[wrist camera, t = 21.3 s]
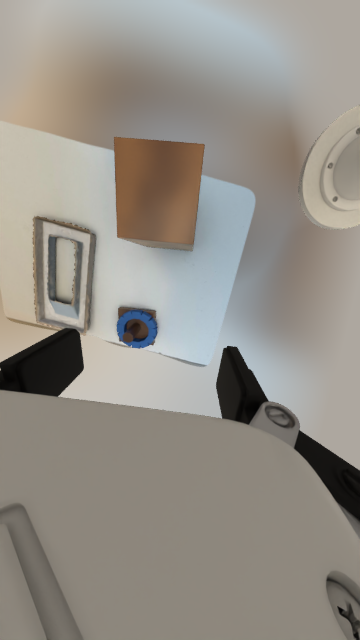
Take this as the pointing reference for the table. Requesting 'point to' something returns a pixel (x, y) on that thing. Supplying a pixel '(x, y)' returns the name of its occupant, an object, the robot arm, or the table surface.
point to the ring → (143, 317)
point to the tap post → (135, 326)
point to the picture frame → (44, 274)
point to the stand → (157, 191)
